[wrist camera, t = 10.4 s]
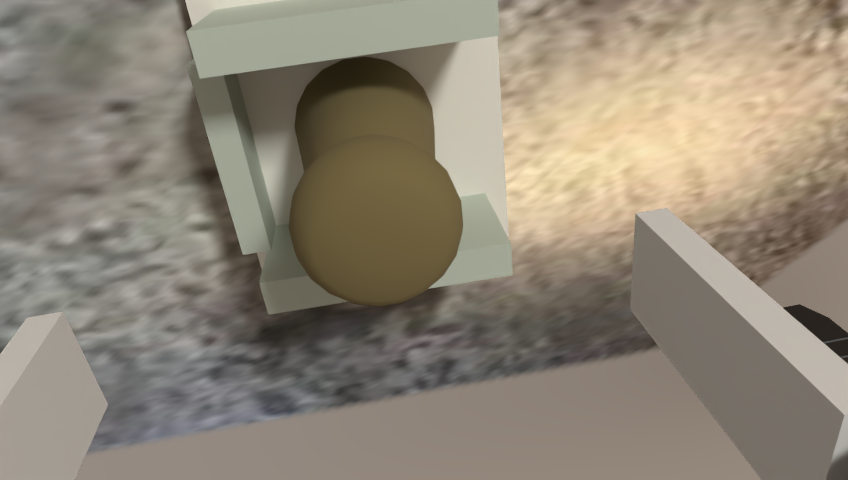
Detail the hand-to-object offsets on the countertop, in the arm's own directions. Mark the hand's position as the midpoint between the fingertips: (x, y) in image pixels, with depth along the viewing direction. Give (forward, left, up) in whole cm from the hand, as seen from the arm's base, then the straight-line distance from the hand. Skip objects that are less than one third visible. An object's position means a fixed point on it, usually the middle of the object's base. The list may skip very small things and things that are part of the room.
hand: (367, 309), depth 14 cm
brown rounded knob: (0, 0, -14) cm, 14 cm away
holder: (0, 0, -15) cm, 15 cm away
